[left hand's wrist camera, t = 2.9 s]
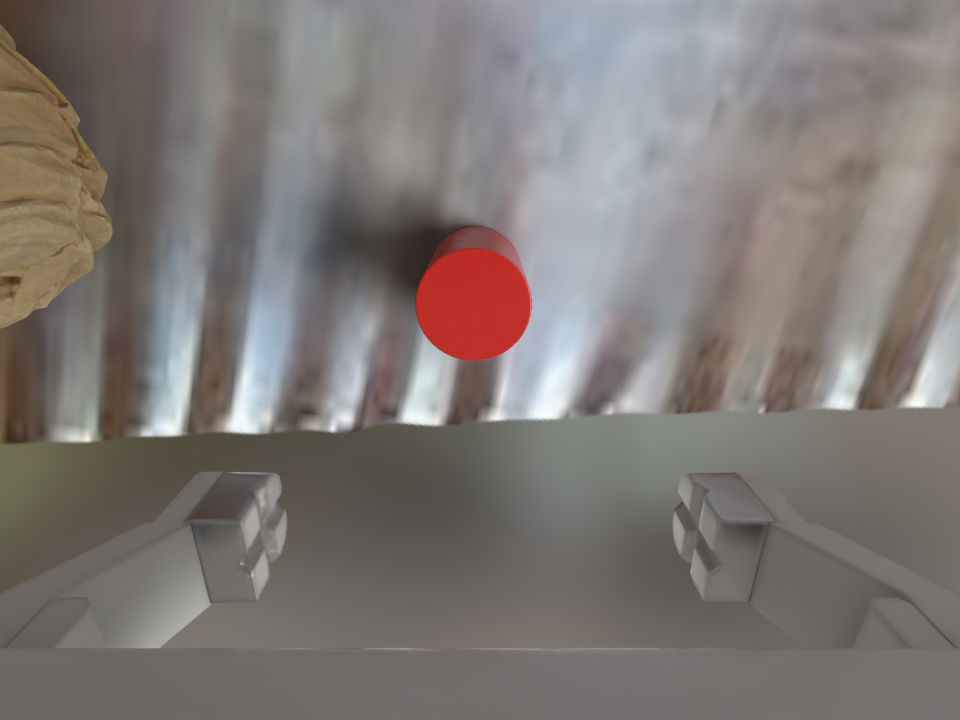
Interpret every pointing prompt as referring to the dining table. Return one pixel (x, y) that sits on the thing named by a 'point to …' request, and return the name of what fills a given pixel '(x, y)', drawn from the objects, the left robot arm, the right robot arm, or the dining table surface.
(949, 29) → the dining table surface
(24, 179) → the fossil
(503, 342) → the can
